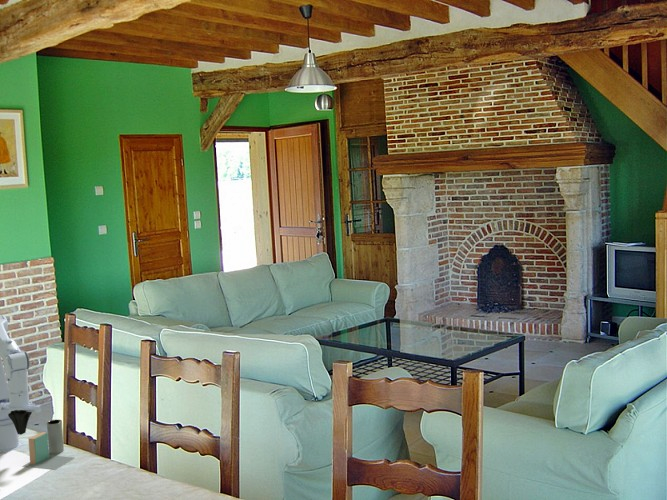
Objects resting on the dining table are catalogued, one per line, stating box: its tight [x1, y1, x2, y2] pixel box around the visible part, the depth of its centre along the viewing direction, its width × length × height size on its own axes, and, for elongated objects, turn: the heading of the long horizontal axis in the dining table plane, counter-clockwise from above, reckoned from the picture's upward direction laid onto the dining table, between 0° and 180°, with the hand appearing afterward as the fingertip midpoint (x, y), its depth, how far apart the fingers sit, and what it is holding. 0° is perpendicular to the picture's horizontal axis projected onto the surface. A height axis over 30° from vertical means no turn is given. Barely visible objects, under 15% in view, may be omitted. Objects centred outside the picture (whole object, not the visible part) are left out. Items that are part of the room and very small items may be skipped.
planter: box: [46, 419, 65, 455], centre depth 239 cm, size 4×4×10 cm
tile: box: [28, 431, 50, 464], centre depth 231 cm, size 2×6×8 cm, turn 163°
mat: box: [21, 454, 76, 471], centre depth 230 cm, size 12×10×1 cm
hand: (21, 433), depth 233 cm, fingers closed
